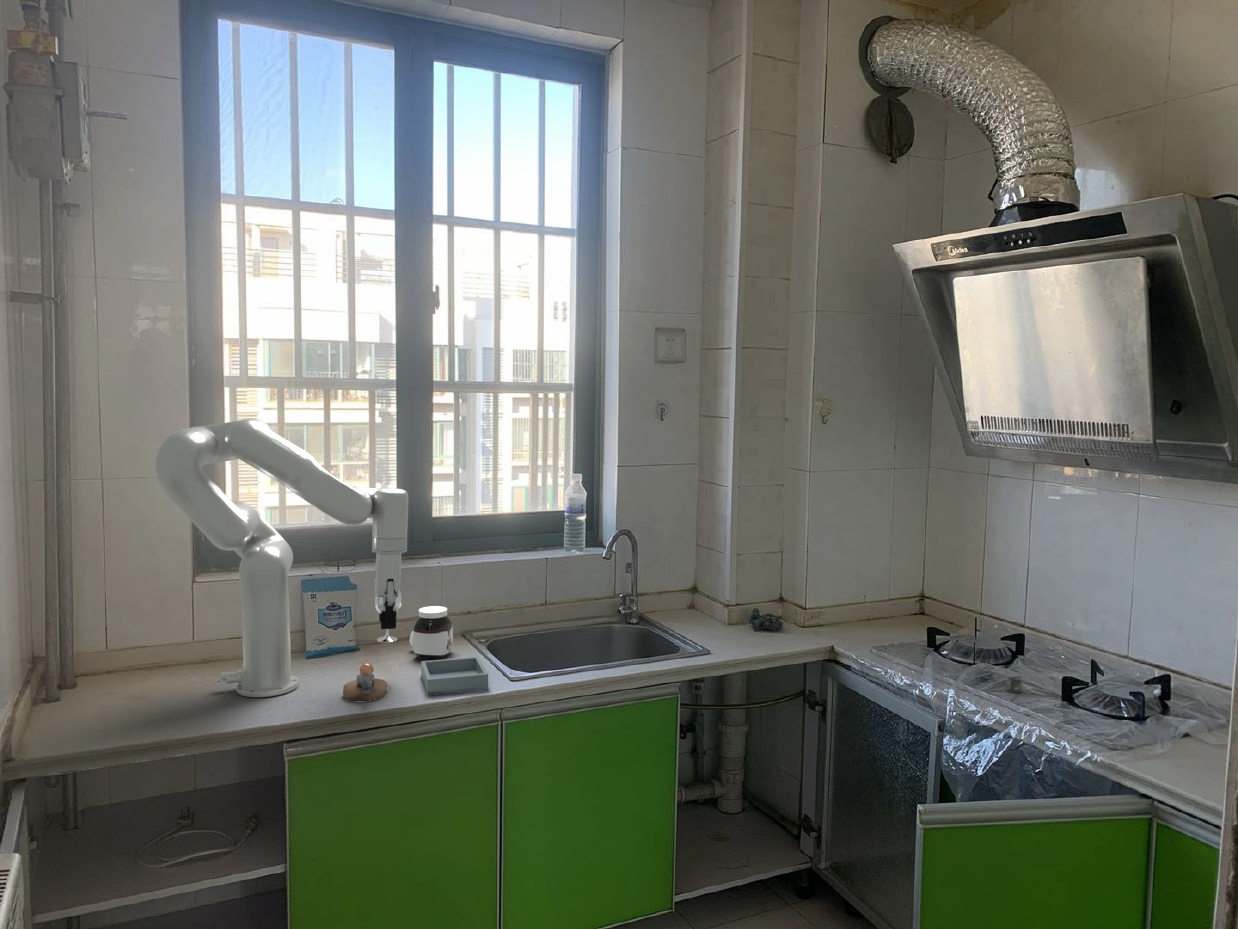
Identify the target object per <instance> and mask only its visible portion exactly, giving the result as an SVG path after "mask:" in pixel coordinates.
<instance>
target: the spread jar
mask: <svg viewBox="0 0 1238 929" xmlns="http://www.w3.org/2000/svg"><path fill="white" fill-rule="evenodd" d="M418 616H419V617H418V618H417V619H416V621H415V623H414V626H413V630H412V631H411V633H410V636H409V644H410V646H412V648H413V649H412V650H413V653H414V655H415V656H416V657H417V658H418V659H421V660H423V661H432V660H444V659H446V658H447V657H448V656H449V655H450V653H451V651H452V649H453V643H454V642H453V641H454V626H453V622H452V620H451V618H450V617H449V616H448V607H445V606H441V605H430V606H425V607H421V608H419V609H418Z"/></svg>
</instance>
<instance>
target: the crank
mask: <svg viewBox="0 0 1238 929" xmlns="http://www.w3.org/2000/svg"><path fill="white" fill-rule="evenodd" d="M361 664H362V663H361ZM373 673H374V666H373V664H371V663H369V662H365V663H363V664H362V665H360V667H359V674H358V675H356V680H357V686H358V687H361V690H362V694H368V693H371V689H372V686H373V685H374V679H375V675H374V674H373Z"/></svg>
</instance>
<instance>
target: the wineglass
mask: <svg viewBox="0 0 1238 929" xmlns="http://www.w3.org/2000/svg"><path fill="white" fill-rule="evenodd" d="M396 593H397V592H396ZM385 597H387V594H385ZM393 597H394V594H393ZM382 598H383V596H382V597H380V598H377V597H376V595H375V597H374V608H375V609H376V611H377V613H378V614H379V613H381V611H383V599H382ZM386 601H387V600H385V602H386ZM402 601H403V600H402V593H401V591H400V592H399V596H398V597H397V598H396V613H398V612H399V610H400V609H401V607H402ZM376 641H377V642H380V643H393V642H397V641H398V637H395V636H391V635H390V633H389V629H385V634H384V635H383V636H380V637H378V638H376Z"/></svg>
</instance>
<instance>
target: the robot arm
mask: <svg viewBox="0 0 1238 929" xmlns="http://www.w3.org/2000/svg"><path fill="white" fill-rule="evenodd" d="M156 454H157V455H156V456H155V464H154V466H155V467H154V468H155V475H156V479H157V481H158V483H159V486H160V487H161V489H162V490H163V492H164V493H165V494H166V496H167V497H168V498H169V500H171V501H172V502H173V503H174V504H175V505H176V506H177V507H178V508H179V509H180V510H181V511H182V512H183V513H184V514H185V516H186V517H187V518H188V519H189V521H191V522H192V524H194V525H195V526H196V528H197V529H198V530H199V531H200V532H201V533H202V534H203V535H204V536H205V537H206V538H207V539H208V541H209V542H210V543H211V544H212V545H214V547H216V548H218V549H219V550H222V551H229V552H230V551H234V552H235V553H236V554H237V556H239V558H241V561H240V563H239V568H238V569H239V570H238V580H239V590H240V602H241V621H242V626H241V627H242V659H243V661H242V668H241V669H237V670H236V671H227V672H226V671H225V672H223V671H222V672H221V673H220V674H221V675H220V681H221V682H222V683H223V682H225V684H235V683H236V686H235V691H236V693H237V694H238V695H240V696H242V697H247V698H266V697H267V698H268V697H269V698H270V697H275V696H280V695H284V694H287V693H289V692H291V691H293V690H295V689H297V688H298V687H299V683H300V682H299V678H298V677H297V676H296V675H293V674H292V668H291V667H292V663H291V662H292V660H291V619H290V618H291V616H290V613H291V612H290V593H289V572H290V570H291V567H292V566H293V562H294V552H293V550H292V547H291V546H290V545H289V543H288V542H287V541H286V539H284V537H283V536H282V535H281V534H280V533H279V532H278V531H277V529H275V528H274V527H273V526H272V525H271V524H270V522H268V521H267V520H266V519H265V517H263V515H262V514H261V513H260V512H259V511H258V510H257V509H255V508H254V506H252V505H250V504H248V503H246V502H243V501H235V500H234V501H233V500H232V499H231V498H230V497H229V496H228V495H226V493H225V492H224V491H223V490H222V489H221V488H220V487H219V485H218V484H216V482H214V481H213V480H212V479H211V478H209V476H208V475H206V473H205V472H204V470H203V466H206V465H211V464H217V463H223V462H231V461H235V460H239V461H242V462H244V463H245V464H247V465H248V466H251V467H252V469H253V468H254V469H255V470H257V471H258V472H261V473H262V474H263V475H266V476H267V477H269V478H271V479H272V480H274V481H276V482H277V483H279V484H281V485H282V486H284V487H286V488H287V489H288V490H289V491H290V492H292V493H294V494H295V495H296V496H298V497H299V498H301V499H302V500H304V501H306V502H307V503H308V504H310V505H311V506H313V507H314V508H316V509H317V510H319V511H321V512H322V513H324V514H326V515H327V516H329V517H330V518H332V519H334V520H335V521H338V522H340V523H341V524H344V525H346V526H352V527H353V526H359V525H361V524H363V523H365V522H366V521H367V520H368V519H372V530H371V531H372V532H371V533H372V534H371V535H372V536H371V552H372V553H375V554H376V556H375V568H374V570H375V573H374V574H375V575H374V593H375V596H376V597H377V598H380V597H382V596H383V598H382V599H383V611H381V613H379V612H378V614H379V617H378V619H379V620H378V621H379V622H380V629H381V630H386V629H388V630H395V629H396V628H397V612H396V598H397V597H398V596H399V592H401V575H402V554H404V553H406V552H408V527H409V526H408V522H409V521H408V520H409V494H408V492H407V491H406V490H404V489H402V488H392V487H389V488H387V487H386V488H371V487H367V486H366V487H365V486H359V485H352V486H350V485H349V484H347V483H345V482H343V481H342V480H340V479H339V478H337V477H336V476H334V475H332V474H331V473H330V472H328V471H327V470H326V469H325V468H323V467H322V466H321V464H319V462H318V461H317V460H316V459H315V457H313V456H312V455H311V454H310V453H309V452H307V451H306V450H304V449H302V448H301V447H299V446H297V445H296V444H294V443H292V442H290V441H289V440H287V439H285V438H284V437H283V436H281V435H279V434H277V433H275V431H272V429H271V428H270V426H269V425H268V424H267V423H266V422H264V421H263V420H261V419H258V418H253V417H251V418H250V417H249V418H244V419H243V418H242V419H240V420H239V419H238V420H234V421H228V422H222V423H215V424H208V425H199V426H192V427H189V428H188V427H187V428H181V429H178V430H176V431H173V432H172V433H170V434H168V436H167V437H166V438H165V439H164V440H163V442H161V445H160V446H159V449H158V451H157V453H156ZM396 592H397V593H396ZM385 594H387V597H385ZM393 594H394V597H393ZM385 600H387V601H386V602H385Z"/></svg>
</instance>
